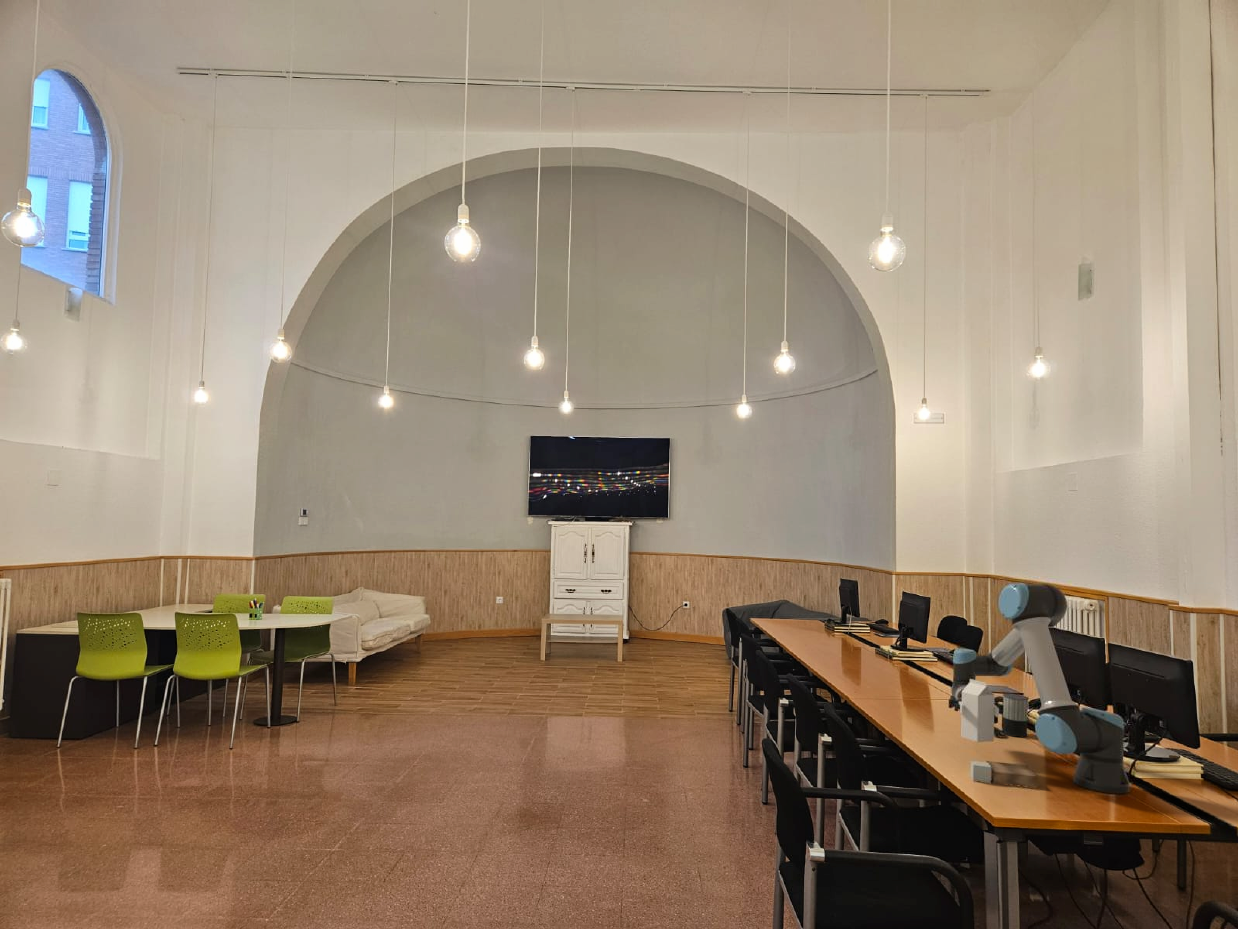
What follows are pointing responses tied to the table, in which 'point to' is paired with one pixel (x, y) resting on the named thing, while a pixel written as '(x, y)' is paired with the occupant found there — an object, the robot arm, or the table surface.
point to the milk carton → (977, 712)
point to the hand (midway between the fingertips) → (980, 711)
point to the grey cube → (980, 771)
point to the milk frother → (1012, 715)
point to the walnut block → (1012, 774)
